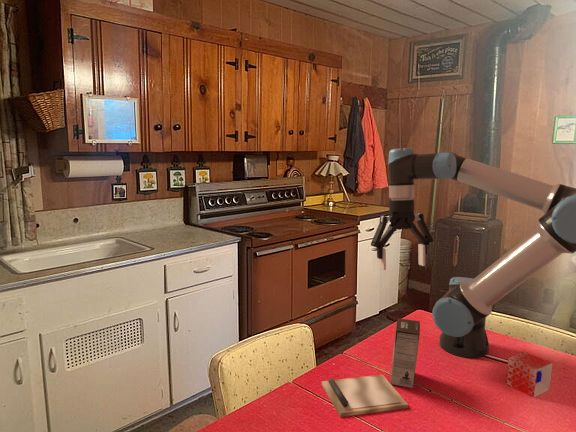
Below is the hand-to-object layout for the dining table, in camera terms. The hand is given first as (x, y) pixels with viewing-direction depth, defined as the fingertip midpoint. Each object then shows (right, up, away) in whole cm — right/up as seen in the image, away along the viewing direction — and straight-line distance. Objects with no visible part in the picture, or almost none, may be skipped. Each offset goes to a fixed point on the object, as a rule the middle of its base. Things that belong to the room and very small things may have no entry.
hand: (402, 267), depth 142 cm
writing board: (-16, -31, -22) cm, 42 cm away
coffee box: (-4, -30, -13) cm, 33 cm away
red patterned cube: (+30, -32, -16) cm, 47 cm away
